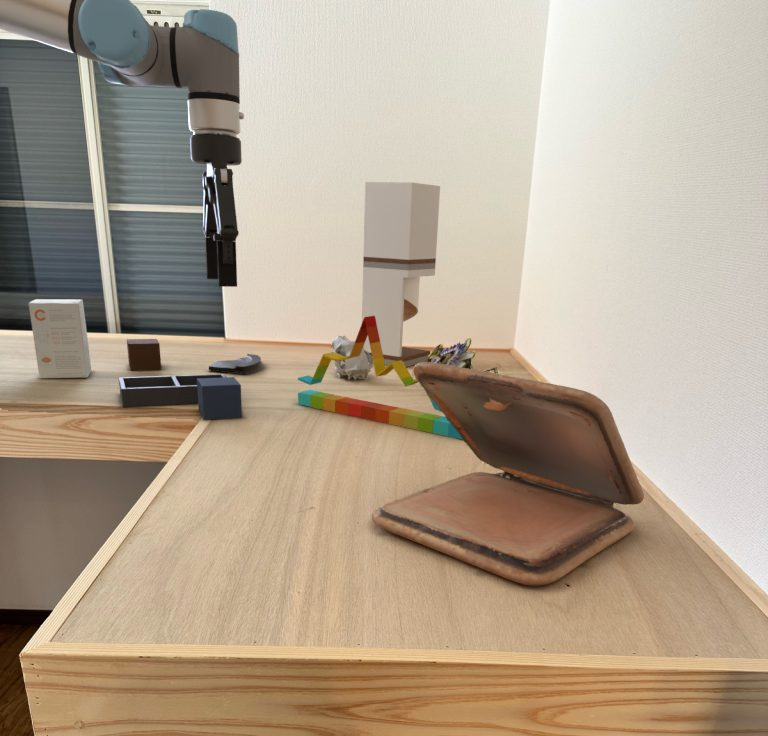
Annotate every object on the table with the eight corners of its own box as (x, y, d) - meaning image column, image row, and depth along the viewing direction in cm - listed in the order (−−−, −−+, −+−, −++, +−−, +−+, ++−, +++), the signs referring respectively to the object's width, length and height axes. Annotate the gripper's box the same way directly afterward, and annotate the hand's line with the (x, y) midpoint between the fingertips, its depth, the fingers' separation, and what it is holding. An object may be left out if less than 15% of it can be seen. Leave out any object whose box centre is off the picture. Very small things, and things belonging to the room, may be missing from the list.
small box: (92, 371, 135) (83, 298, 130) (87, 378, 130) (79, 302, 125) (44, 371, 133) (34, 298, 129) (38, 379, 128) (27, 302, 123)
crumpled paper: (345, 370, 132) (325, 318, 136) (335, 397, 140) (316, 347, 144) (384, 365, 135) (364, 314, 139) (372, 392, 143) (353, 343, 147)
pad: (203, 420, 107) (202, 386, 105) (198, 410, 111) (196, 378, 109) (242, 417, 108) (240, 384, 107) (235, 408, 113) (233, 377, 111)
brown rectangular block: (130, 370, 137) (128, 343, 135) (128, 365, 142) (126, 339, 140) (161, 369, 139) (159, 343, 137) (158, 364, 144) (156, 338, 142)
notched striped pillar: (403, 367, 151) (412, 182, 138) (360, 360, 156) (365, 182, 143) (429, 360, 160) (440, 186, 147) (388, 354, 165) (394, 185, 152)
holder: (122, 407, 112) (121, 389, 111) (120, 394, 119) (118, 377, 118) (234, 401, 118) (233, 384, 117) (225, 389, 125) (224, 373, 124)
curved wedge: (277, 363, 149) (277, 355, 149) (245, 375, 137) (245, 366, 137) (240, 360, 152) (240, 352, 151) (206, 371, 140) (206, 362, 139)
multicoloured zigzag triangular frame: (474, 434, 104) (483, 328, 99) (463, 439, 102) (472, 330, 96) (310, 401, 120) (310, 307, 114) (298, 404, 118) (297, 308, 112)
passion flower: (433, 425, 129) (411, 364, 131) (487, 410, 132) (465, 351, 134) (453, 402, 119) (429, 336, 120) (511, 387, 122) (487, 322, 123)
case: (646, 528, 74) (676, 371, 68) (540, 597, 59) (566, 404, 53) (481, 478, 86) (493, 342, 81) (359, 526, 72) (363, 363, 66)
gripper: (256, 129, 100) (259, 290, 108) (227, 143, 121) (232, 276, 129) (200, 124, 97) (207, 289, 105) (181, 139, 119) (188, 275, 127)
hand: (221, 282), depth 117 cm, fingers open, 13 cm apart
